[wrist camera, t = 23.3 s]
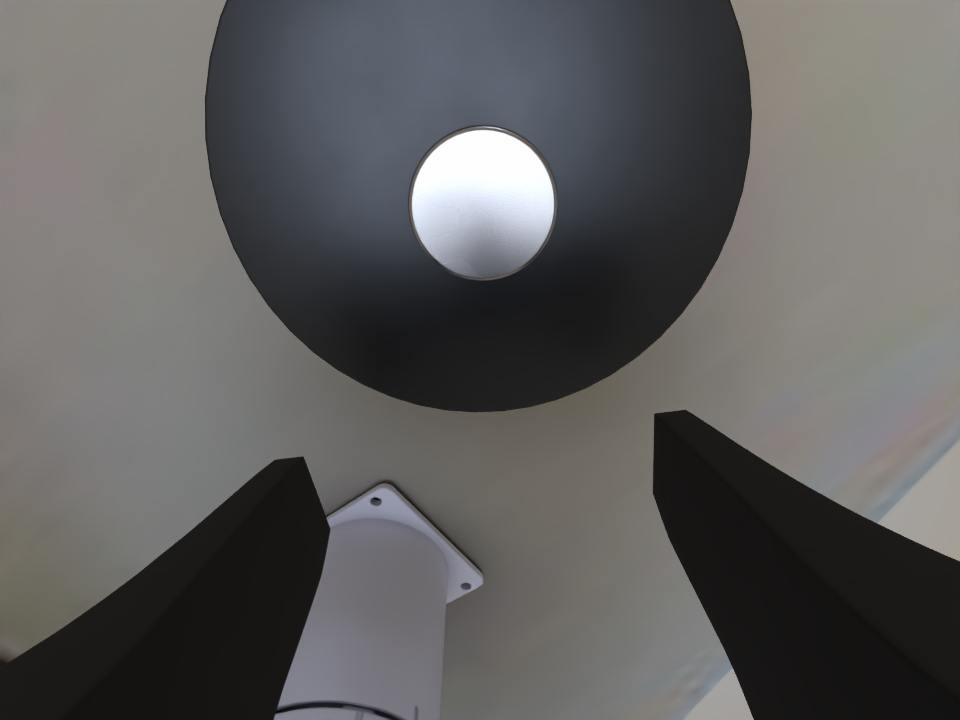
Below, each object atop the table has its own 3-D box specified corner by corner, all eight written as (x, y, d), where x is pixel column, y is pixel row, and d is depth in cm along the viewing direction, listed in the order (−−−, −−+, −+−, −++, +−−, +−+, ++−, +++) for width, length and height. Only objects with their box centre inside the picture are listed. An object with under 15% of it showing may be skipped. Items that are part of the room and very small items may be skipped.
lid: (438, 459, 16) (425, 583, 11) (116, 119, 11) (-95, 115, 7) (803, 232, 13) (969, 286, 8) (555, -339, 8) (639, -802, 4)
